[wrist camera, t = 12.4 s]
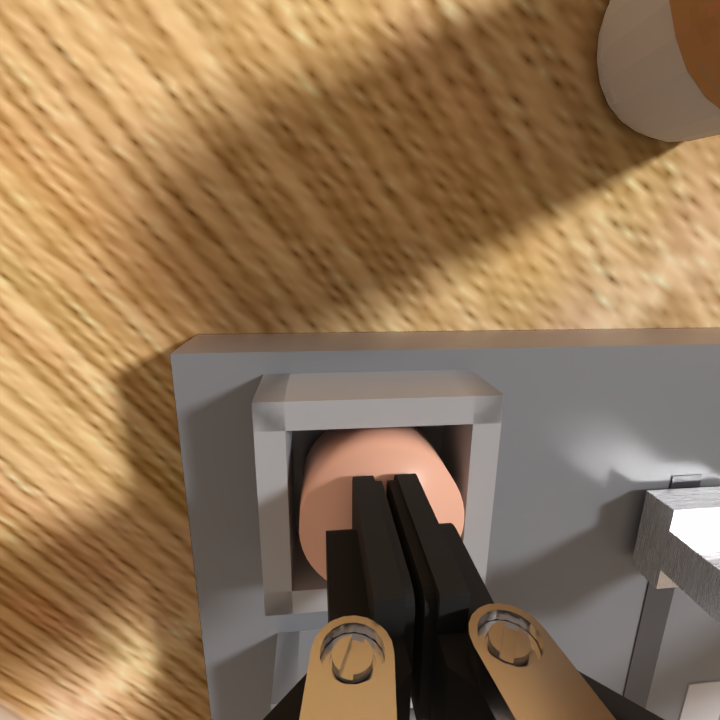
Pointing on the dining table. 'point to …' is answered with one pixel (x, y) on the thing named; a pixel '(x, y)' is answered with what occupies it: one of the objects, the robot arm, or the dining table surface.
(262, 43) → the dining table surface
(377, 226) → the dining table surface
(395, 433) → the terracotta button
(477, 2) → the dining table surface
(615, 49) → the coffee cup
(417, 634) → the robot arm
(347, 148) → the dining table surface
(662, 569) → the slider knob
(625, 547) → the control panel
